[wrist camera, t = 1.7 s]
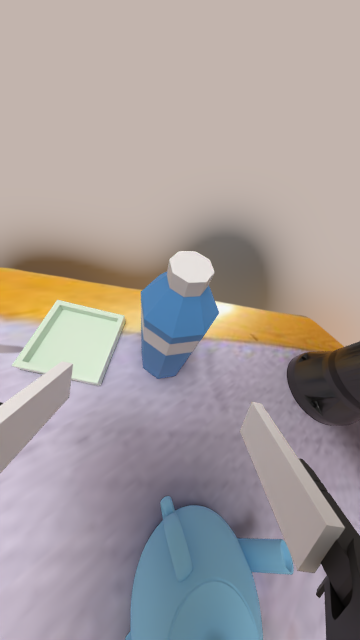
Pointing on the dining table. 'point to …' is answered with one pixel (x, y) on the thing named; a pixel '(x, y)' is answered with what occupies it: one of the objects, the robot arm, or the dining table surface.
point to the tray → (73, 342)
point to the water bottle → (176, 313)
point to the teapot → (201, 579)
